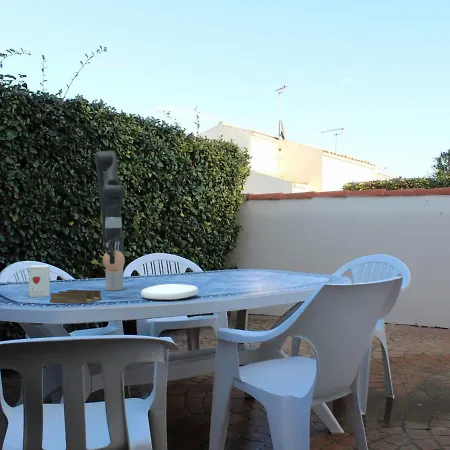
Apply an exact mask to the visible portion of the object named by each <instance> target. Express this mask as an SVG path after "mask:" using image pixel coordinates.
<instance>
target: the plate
mask: <svg viewBox="0 0 450 450" xmlns="http://www.w3.org/2000/svg"><path fill="white" fill-rule="evenodd" d="M198 293H199V288H198V287H197V286H196V285H192V284H182V283H168V284H167V283H165V284H159V285H152V286H148V287H145V288H143V289H142V290H141V292H140V294H141V297H142V298H143V299H144V298H145V299H150V300H157V301H158V300H159V301H161V300H162V301H166V300H168V301H169V300H170V301H172V300H180V299H185V298H189V297H193V296H195V295H198Z"/></svg>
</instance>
